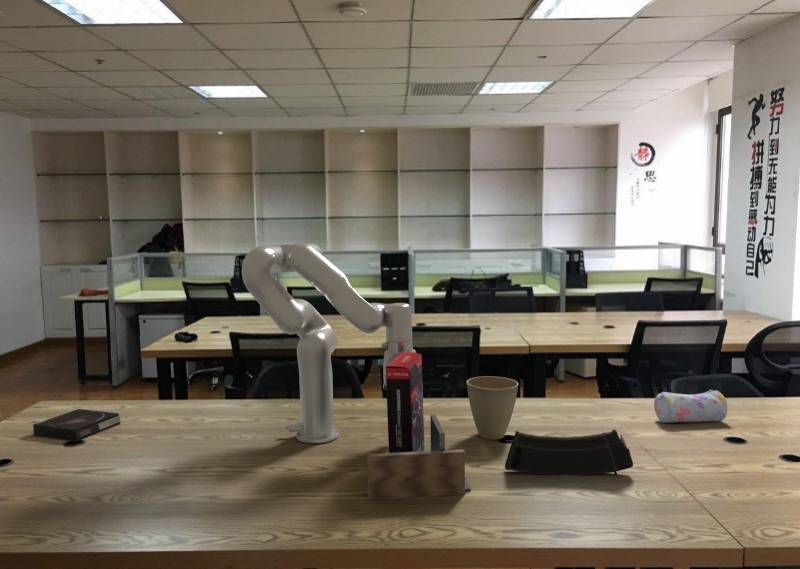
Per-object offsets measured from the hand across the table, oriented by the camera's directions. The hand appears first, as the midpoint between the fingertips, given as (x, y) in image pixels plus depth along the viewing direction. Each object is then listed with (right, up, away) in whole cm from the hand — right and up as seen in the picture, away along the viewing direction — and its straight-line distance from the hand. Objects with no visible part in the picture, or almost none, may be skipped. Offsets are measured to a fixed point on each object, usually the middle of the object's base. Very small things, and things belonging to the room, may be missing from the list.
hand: (402, 408), depth 173 cm
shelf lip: (+3, -12, -37) cm, 39 cm away
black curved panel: (+41, -11, -26) cm, 49 cm away
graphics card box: (+1, -11, -16) cm, 20 cm away
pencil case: (+90, -7, +13) cm, 91 cm away
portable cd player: (-100, -10, +12) cm, 101 cm away
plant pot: (+26, -9, +2) cm, 28 cm away
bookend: (+11, -11, -29) cm, 33 cm away
